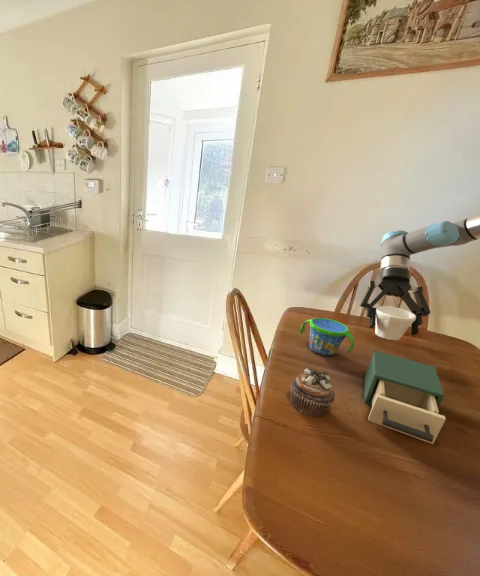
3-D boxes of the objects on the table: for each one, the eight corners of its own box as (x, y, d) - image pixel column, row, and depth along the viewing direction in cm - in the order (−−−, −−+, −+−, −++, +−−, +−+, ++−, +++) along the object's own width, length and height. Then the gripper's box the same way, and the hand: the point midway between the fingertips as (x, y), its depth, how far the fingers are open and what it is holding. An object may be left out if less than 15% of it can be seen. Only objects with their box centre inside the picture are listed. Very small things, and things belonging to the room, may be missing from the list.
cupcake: (284, 390, 89) (291, 360, 86) (324, 398, 86) (333, 367, 82) (290, 413, 81) (298, 381, 77) (334, 423, 78) (345, 390, 74)
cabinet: (429, 425, 77) (444, 395, 73) (364, 402, 84) (374, 374, 81) (422, 393, 87) (435, 366, 84) (364, 376, 95) (374, 350, 91)
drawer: (436, 459, 67) (450, 433, 64) (367, 433, 74) (377, 408, 71) (425, 410, 80) (436, 387, 77) (368, 391, 87) (376, 369, 84)
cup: (410, 338, 105) (420, 313, 102) (401, 347, 100) (411, 321, 97) (373, 326, 113) (381, 303, 110) (363, 334, 108) (371, 310, 104)
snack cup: (355, 358, 103) (365, 331, 100) (336, 366, 99) (345, 339, 95) (308, 337, 117) (315, 312, 113) (290, 343, 112) (296, 318, 109)
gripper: (432, 281, 108) (433, 341, 100) (351, 272, 118) (346, 326, 111) (445, 270, 101) (447, 334, 94) (357, 262, 112) (353, 318, 105)
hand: (393, 330), depth 103 cm, fingers closed on cup, 10 cm apart
